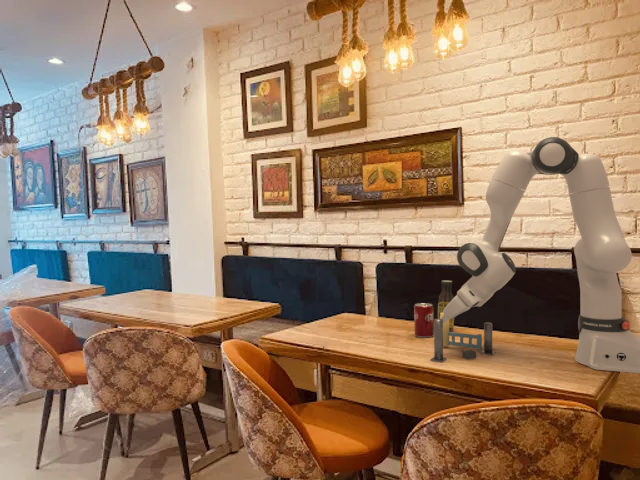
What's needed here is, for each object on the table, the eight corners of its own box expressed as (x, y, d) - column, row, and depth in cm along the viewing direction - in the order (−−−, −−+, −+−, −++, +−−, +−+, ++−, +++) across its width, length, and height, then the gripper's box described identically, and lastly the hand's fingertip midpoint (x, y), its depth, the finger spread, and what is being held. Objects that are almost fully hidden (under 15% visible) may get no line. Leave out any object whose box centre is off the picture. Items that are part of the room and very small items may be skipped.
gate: (482, 349, 173) (482, 315, 172) (479, 351, 170) (479, 317, 170) (442, 343, 181) (442, 312, 180) (439, 345, 179) (438, 313, 178)
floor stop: (471, 356, 167) (471, 349, 167) (476, 358, 165) (476, 351, 165) (462, 357, 166) (462, 350, 166) (466, 359, 164) (466, 352, 164)
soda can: (412, 337, 195) (411, 305, 194) (417, 333, 201) (417, 302, 201) (430, 338, 191) (430, 306, 191) (436, 334, 198) (435, 303, 197)
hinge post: (496, 352, 171) (496, 322, 170) (492, 355, 168) (492, 325, 167) (484, 351, 173) (483, 321, 173) (480, 353, 170) (480, 323, 169)
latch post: (447, 359, 164) (446, 319, 164) (442, 362, 161) (441, 321, 160) (435, 357, 167) (434, 317, 166) (430, 360, 163) (429, 320, 163)
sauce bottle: (436, 332, 202) (436, 281, 201) (438, 328, 208) (438, 279, 207) (453, 333, 200) (453, 282, 199) (455, 329, 206) (454, 280, 204)
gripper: (477, 282, 180) (450, 307, 186) (458, 290, 163) (428, 317, 169) (490, 295, 178) (462, 321, 184) (472, 305, 161) (442, 332, 167)
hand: (446, 319), depth 176 cm, fingers open, 8 cm apart
